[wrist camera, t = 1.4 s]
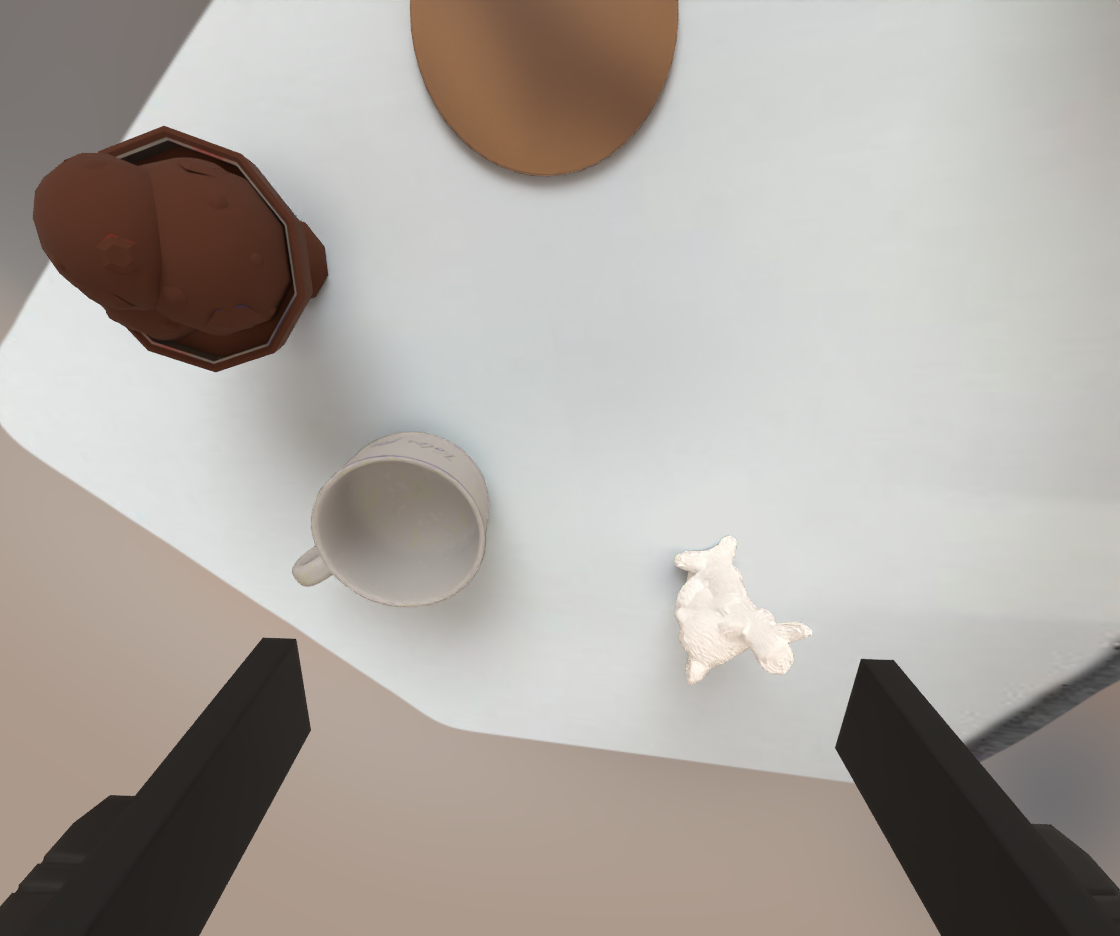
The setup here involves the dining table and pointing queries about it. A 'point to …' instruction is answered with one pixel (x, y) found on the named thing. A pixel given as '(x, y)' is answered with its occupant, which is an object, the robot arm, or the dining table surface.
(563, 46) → the brown round coaster
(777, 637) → the koala figurine
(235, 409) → the dining table surface
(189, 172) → the ice cream bowl
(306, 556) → the teacup
